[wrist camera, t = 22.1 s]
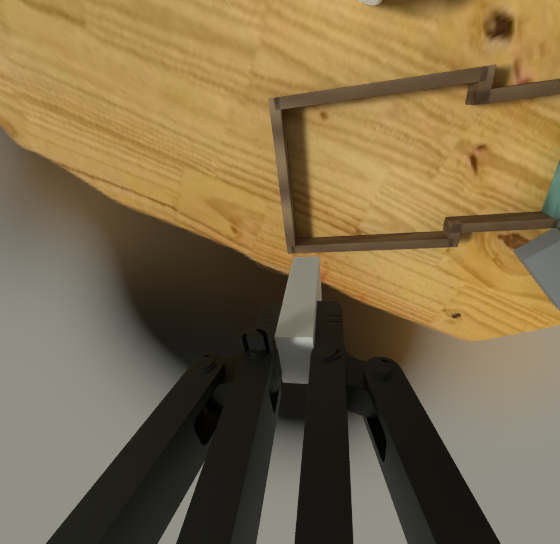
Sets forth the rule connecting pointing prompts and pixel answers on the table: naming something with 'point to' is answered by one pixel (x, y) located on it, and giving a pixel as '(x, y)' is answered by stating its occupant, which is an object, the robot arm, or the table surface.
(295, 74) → the table surface
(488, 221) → the keyhole corral
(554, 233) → the block
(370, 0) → the mug
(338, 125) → the table surface
